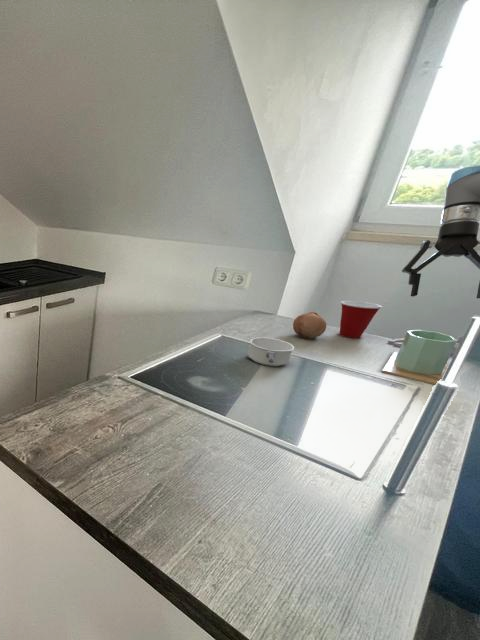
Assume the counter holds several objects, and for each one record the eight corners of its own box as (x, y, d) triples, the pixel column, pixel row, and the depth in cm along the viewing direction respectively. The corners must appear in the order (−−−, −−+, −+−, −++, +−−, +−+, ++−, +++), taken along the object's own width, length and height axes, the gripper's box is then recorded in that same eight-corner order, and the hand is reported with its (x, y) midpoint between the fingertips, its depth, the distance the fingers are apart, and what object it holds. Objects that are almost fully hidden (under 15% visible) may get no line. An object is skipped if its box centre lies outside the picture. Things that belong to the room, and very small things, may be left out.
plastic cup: (366, 333, 140) (378, 301, 135) (372, 342, 132) (385, 308, 127) (328, 328, 146) (339, 297, 141) (332, 337, 137) (343, 304, 133)
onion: (301, 341, 143) (309, 315, 142) (328, 343, 134) (337, 315, 133) (282, 334, 140) (291, 307, 140) (309, 336, 131) (318, 307, 131)
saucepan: (243, 373, 113) (247, 356, 111) (246, 350, 128) (250, 335, 126) (290, 382, 107) (296, 364, 105) (288, 357, 123) (293, 341, 120)
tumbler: (460, 343, 103) (450, 333, 110) (412, 337, 108) (405, 328, 114) (444, 377, 107) (435, 365, 114) (398, 370, 112) (392, 359, 118)
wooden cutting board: (441, 386, 104) (442, 384, 103) (381, 371, 112) (382, 370, 112) (448, 364, 115) (449, 362, 115) (393, 353, 124) (394, 351, 123)
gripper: (404, 222, 116) (392, 293, 118) (534, 216, 103) (519, 296, 104) (396, 229, 123) (384, 296, 124) (517, 225, 109) (503, 300, 111)
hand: (446, 296), depth 114 cm, fingers open, 13 cm apart
